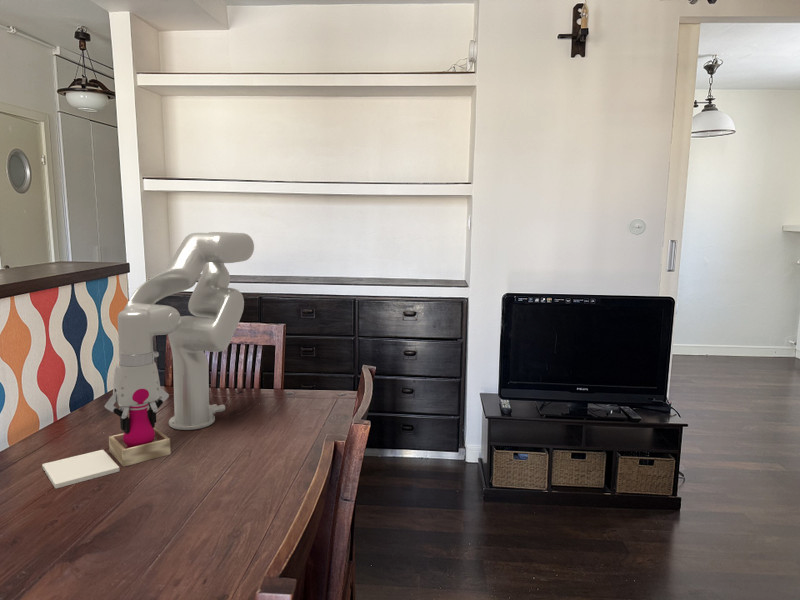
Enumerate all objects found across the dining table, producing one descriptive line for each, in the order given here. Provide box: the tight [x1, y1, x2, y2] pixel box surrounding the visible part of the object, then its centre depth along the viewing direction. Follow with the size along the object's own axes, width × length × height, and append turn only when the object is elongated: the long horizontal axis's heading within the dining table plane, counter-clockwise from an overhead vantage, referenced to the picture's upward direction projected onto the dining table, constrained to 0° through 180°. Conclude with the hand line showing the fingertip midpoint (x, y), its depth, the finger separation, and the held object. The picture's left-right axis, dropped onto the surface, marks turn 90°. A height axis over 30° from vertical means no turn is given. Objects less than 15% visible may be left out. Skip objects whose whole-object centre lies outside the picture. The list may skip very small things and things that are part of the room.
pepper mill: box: [123, 389, 155, 449], centre depth 135 cm, size 7×7×20 cm
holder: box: [108, 426, 171, 467], centre depth 136 cm, size 11×11×4 cm
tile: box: [41, 449, 120, 490], centre depth 126 cm, size 13×13×1 cm
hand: (138, 428), depth 136 cm, fingers closed on pepper mill, 5 cm apart
